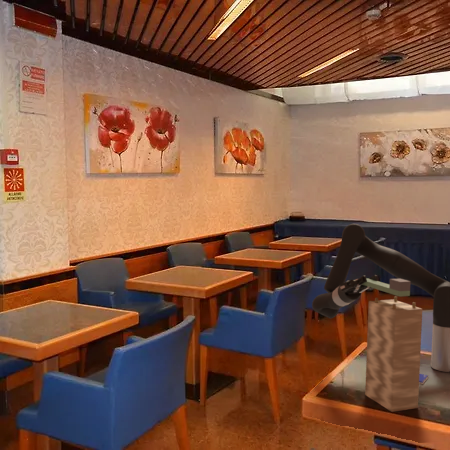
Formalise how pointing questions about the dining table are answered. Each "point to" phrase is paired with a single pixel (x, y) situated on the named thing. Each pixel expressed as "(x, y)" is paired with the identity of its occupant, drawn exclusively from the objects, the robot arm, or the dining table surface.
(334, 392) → the dining table surface
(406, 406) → the stand
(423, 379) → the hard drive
